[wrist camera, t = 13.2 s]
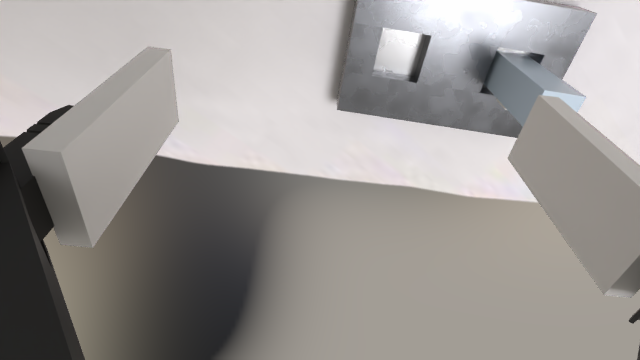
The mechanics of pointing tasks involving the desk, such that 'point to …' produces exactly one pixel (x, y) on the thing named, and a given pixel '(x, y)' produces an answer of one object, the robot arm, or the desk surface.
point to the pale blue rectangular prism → (526, 84)
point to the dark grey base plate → (450, 57)
